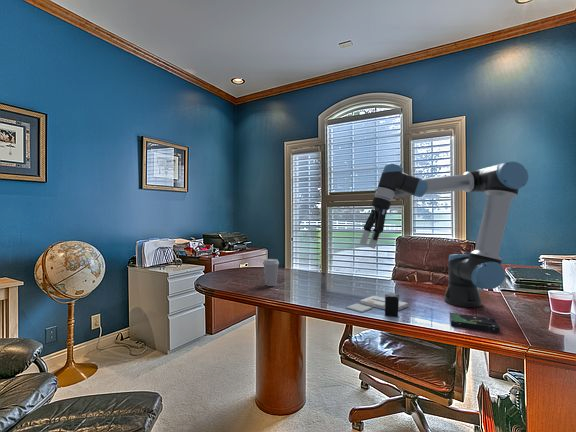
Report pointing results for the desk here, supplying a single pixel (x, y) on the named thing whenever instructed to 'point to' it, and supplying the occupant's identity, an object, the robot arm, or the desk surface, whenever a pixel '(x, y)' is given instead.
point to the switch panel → (380, 302)
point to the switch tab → (393, 295)
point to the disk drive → (474, 323)
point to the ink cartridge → (391, 305)
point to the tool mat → (359, 307)
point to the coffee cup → (271, 271)
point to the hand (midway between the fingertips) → (366, 246)
